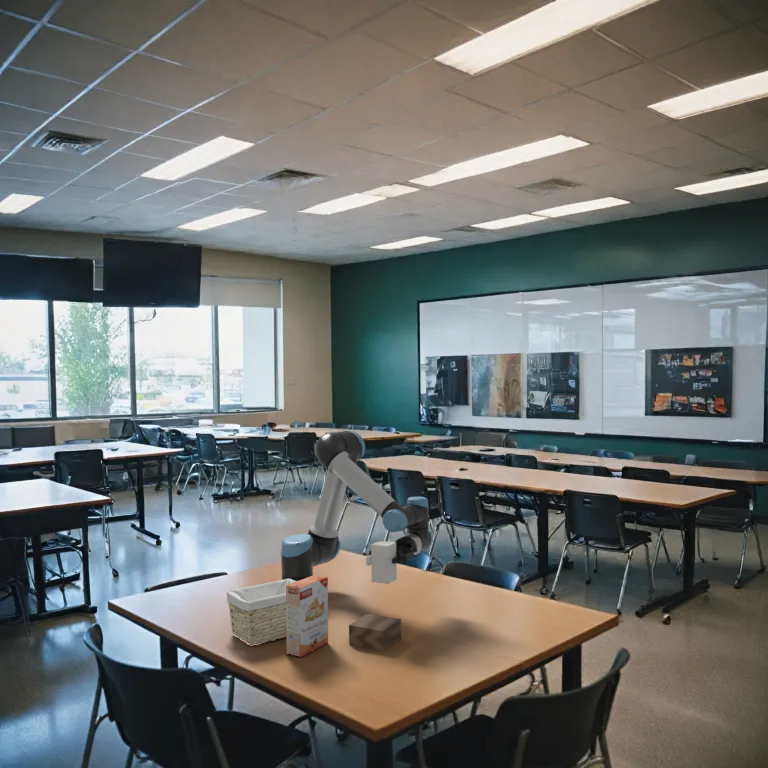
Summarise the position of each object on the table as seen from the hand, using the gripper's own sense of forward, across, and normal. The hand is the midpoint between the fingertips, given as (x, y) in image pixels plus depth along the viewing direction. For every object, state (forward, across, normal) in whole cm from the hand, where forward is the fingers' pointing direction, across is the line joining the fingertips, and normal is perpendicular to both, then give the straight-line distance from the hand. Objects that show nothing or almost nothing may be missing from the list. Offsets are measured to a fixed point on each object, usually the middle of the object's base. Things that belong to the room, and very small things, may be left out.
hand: (376, 562), depth 224 cm
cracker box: (+17, +15, -24) cm, 33 cm away
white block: (-5, 0, -7) cm, 9 cm away
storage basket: (+10, +34, -24) cm, 43 cm away
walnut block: (+2, 0, -24) cm, 24 cm away
